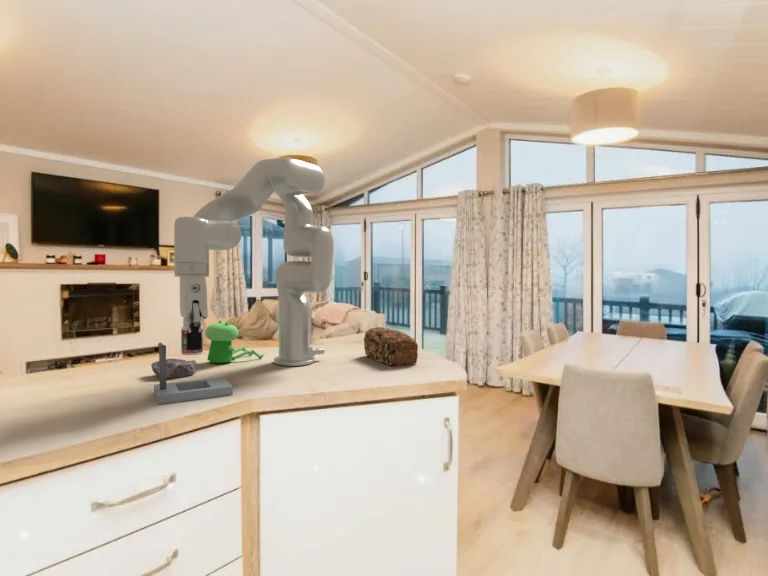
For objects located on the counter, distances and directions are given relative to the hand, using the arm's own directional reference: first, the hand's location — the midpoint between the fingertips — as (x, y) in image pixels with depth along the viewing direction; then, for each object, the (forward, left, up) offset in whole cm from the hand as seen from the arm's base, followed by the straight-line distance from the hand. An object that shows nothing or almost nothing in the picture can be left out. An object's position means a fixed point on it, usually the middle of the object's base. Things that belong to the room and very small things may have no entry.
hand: (192, 346), depth 110 cm
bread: (-62, -11, -12) cm, 64 cm away
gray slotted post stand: (0, 0, -11) cm, 11 cm away
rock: (+2, -21, -12) cm, 24 cm away
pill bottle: (0, 0, -2) cm, 2 cm away
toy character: (-17, -33, -12) cm, 39 cm away
